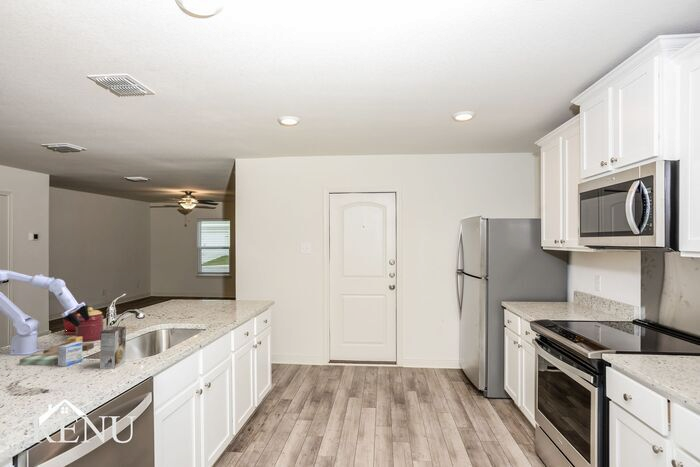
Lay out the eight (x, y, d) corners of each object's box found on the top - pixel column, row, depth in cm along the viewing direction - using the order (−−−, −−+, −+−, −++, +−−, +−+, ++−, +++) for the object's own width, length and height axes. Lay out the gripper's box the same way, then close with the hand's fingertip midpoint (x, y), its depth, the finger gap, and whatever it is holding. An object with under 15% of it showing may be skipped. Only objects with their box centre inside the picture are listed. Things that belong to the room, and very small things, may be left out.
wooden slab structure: (19, 365, 162) (19, 359, 162) (63, 347, 188) (63, 342, 188) (54, 365, 163) (54, 359, 163) (93, 347, 189) (93, 343, 189)
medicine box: (65, 367, 161) (66, 347, 161) (57, 366, 161) (57, 346, 162) (82, 361, 168) (82, 342, 168) (74, 360, 169) (74, 341, 169)
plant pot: (69, 337, 209) (70, 315, 209) (58, 334, 216) (59, 313, 216) (94, 332, 220) (95, 312, 221) (83, 329, 227) (84, 309, 227)
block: (66, 345, 183) (66, 338, 183) (73, 343, 188) (73, 336, 188) (75, 345, 183) (76, 338, 183) (82, 343, 188) (82, 336, 188)
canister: (79, 343, 196) (80, 310, 197) (71, 339, 204) (72, 307, 204) (107, 338, 207) (107, 306, 207) (98, 334, 214) (99, 304, 215)
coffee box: (111, 361, 168) (111, 326, 168) (125, 361, 168) (126, 326, 168) (99, 368, 159) (99, 331, 159) (114, 368, 159) (115, 330, 159)
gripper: (64, 301, 179) (80, 325, 182) (83, 292, 194) (98, 313, 196) (51, 308, 179) (68, 331, 182) (72, 298, 194) (87, 319, 196)
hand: (83, 322), depth 189 cm, fingers open, 7 cm apart
